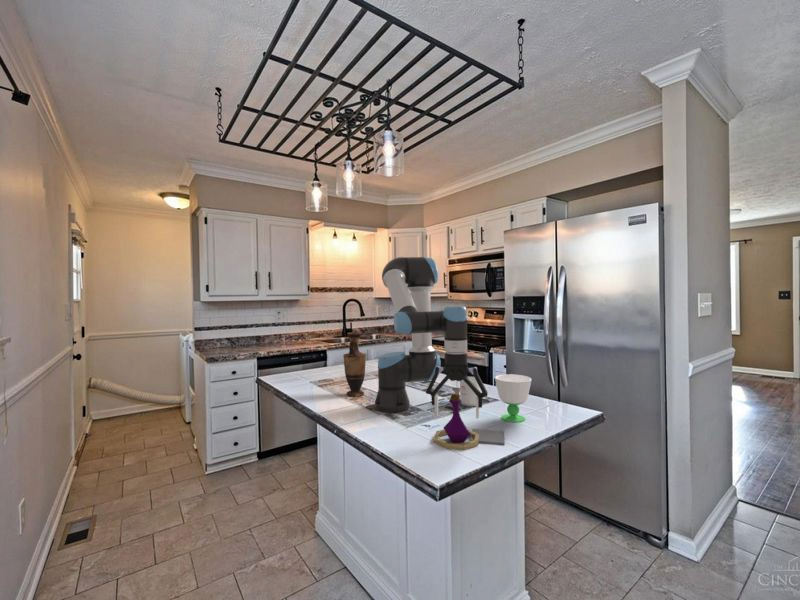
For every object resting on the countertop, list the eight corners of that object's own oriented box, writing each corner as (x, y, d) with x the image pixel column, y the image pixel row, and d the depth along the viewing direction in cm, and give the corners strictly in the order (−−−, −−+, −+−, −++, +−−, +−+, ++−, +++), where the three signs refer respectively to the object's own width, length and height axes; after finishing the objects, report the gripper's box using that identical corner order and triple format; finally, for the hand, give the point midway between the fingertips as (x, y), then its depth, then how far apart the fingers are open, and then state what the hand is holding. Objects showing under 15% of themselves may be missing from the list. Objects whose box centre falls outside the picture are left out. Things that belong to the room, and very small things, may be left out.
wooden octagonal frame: (431, 446, 127) (431, 442, 127) (438, 431, 141) (438, 426, 141) (477, 450, 123) (477, 446, 123) (479, 434, 137) (479, 430, 137)
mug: (484, 404, 173) (484, 378, 173) (471, 408, 167) (471, 382, 167) (463, 398, 182) (463, 374, 182) (450, 402, 176) (450, 377, 176)
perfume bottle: (443, 436, 135) (442, 384, 135) (464, 435, 136) (464, 384, 136) (447, 445, 128) (447, 390, 127) (470, 444, 129) (470, 389, 128)
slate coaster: (470, 442, 130) (470, 440, 130) (472, 430, 141) (472, 428, 141) (504, 444, 128) (504, 443, 128) (504, 432, 138) (504, 431, 138)
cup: (488, 419, 153) (488, 378, 152) (504, 410, 163) (504, 372, 163) (523, 427, 144) (522, 383, 143) (537, 417, 154) (537, 377, 154)
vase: (350, 391, 198) (349, 331, 197) (370, 392, 194) (369, 332, 193) (340, 396, 188) (338, 333, 187) (360, 398, 184) (359, 334, 183)
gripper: (416, 353, 131) (417, 417, 131) (494, 355, 124) (495, 421, 125) (421, 350, 138) (422, 410, 138) (494, 351, 132) (495, 414, 132)
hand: (456, 416), depth 131 cm, fingers open, 13 cm apart
